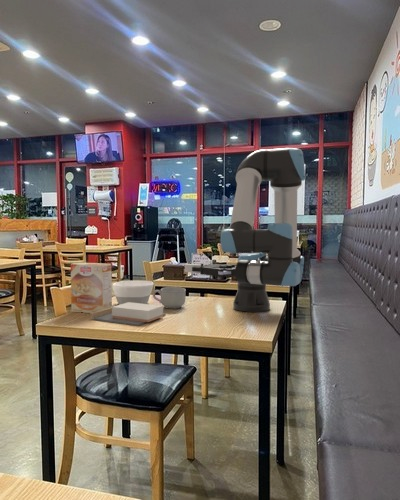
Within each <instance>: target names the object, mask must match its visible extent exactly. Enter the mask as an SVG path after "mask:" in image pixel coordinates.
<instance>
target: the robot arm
mask: <svg viewBox="0 0 400 500" xmlns="http://www.w3.org/2000/svg"><path fill="white" fill-rule="evenodd" d="M305 167H306V166H305V160H304V152H303V151H302V149H300V148H293V147H285V148H273V149H272V148H271V149H259V150H255V151H254V152H251V153H250V154H248V155H247V156H246V157H245V158H244V159H243V160H242V161H241V163H240V164H239V166H238V168H237V170H236V174H235V182H236V190H235V194H234V195H235V196H234V201H233V207H232V211H231V212H232V213H231V216H230V217H231V219H230V225H229V228H225V229H223V230H222V231H221V233H220V248H221V251H222V252H223V253H228V254H229V253H230V254H241V255H239V256H238V258H237V262H236V264H235V263H230V264H214V263H213V264H212V263H208V264H204V263H200V264H194V263H185V264H184V273H192V274H200V275H203V276H204V275H205V276H213V277H220V278H224V277H226V278H233V277H235V279H236V282H237V292H236V294H235V297H234V300H233V304H232V305H233V309H234V310H236V311H240V312H245V313H259V312H267V311H269V310H270V309H271V303H270V300H269V296H268V293H267V289H266V288H267V286H277V287H297V285H299V284H301V282H302V278H303V272H304V265H305V256H303V255H301V251H300V250H299V249H298V247H297V246H298V245H297V243H298V189H299V188H300V187H301V186H303V183H302V181H305V180H306V178H307V177H306V170H305V169H306V168H305ZM262 182H269V185H270V186H269V187H271V189H273V191H274V194H273V195H274V199H273V202H274V205H273V206H274V222H272V223H268V224H267V228H260V229H259V228H258V229H254V223H255V217H256V216H255V215H256V208H257V207H256V206H257V200H258V191H259V186H260V185H261V184H262Z"/></svg>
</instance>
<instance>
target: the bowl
mask: <svg viewBox="0 0 400 500" xmlns="http://www.w3.org/2000/svg"><path fill="white" fill-rule="evenodd" d="M154 284H155V283H154V282H153V281H152V280H121V281H116V282H114V283H112V290H113V293H114V296H115V299H116V301H117V305H120V304H124V303H128V302H131V303H141V304H148V303H149V299H150V297H151V294H152V292H153V288H154Z"/></svg>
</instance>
